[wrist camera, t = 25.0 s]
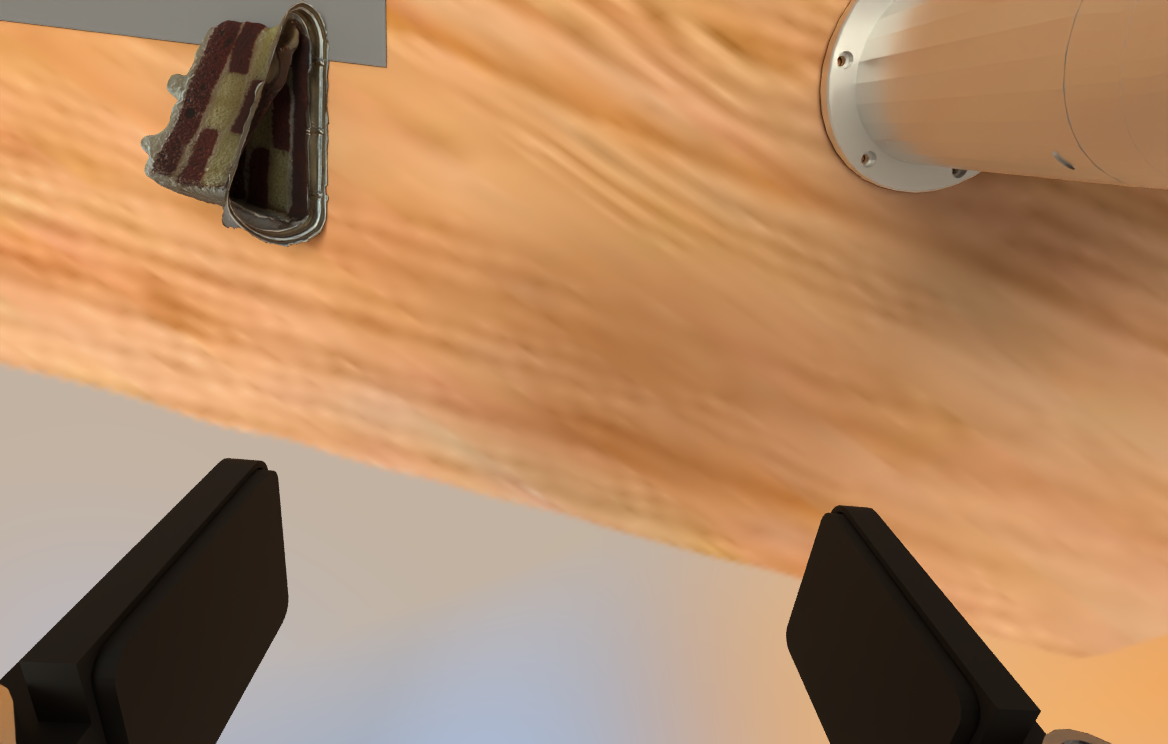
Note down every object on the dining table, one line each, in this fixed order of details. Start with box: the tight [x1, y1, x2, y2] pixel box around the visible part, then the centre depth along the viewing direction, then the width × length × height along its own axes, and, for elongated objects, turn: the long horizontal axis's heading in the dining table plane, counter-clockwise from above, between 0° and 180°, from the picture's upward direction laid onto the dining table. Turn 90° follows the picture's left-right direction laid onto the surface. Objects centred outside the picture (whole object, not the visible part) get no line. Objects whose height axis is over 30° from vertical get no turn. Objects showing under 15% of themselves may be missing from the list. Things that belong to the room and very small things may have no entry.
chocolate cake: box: [141, 0, 330, 247], centre depth 32 cm, size 10×7×12 cm
